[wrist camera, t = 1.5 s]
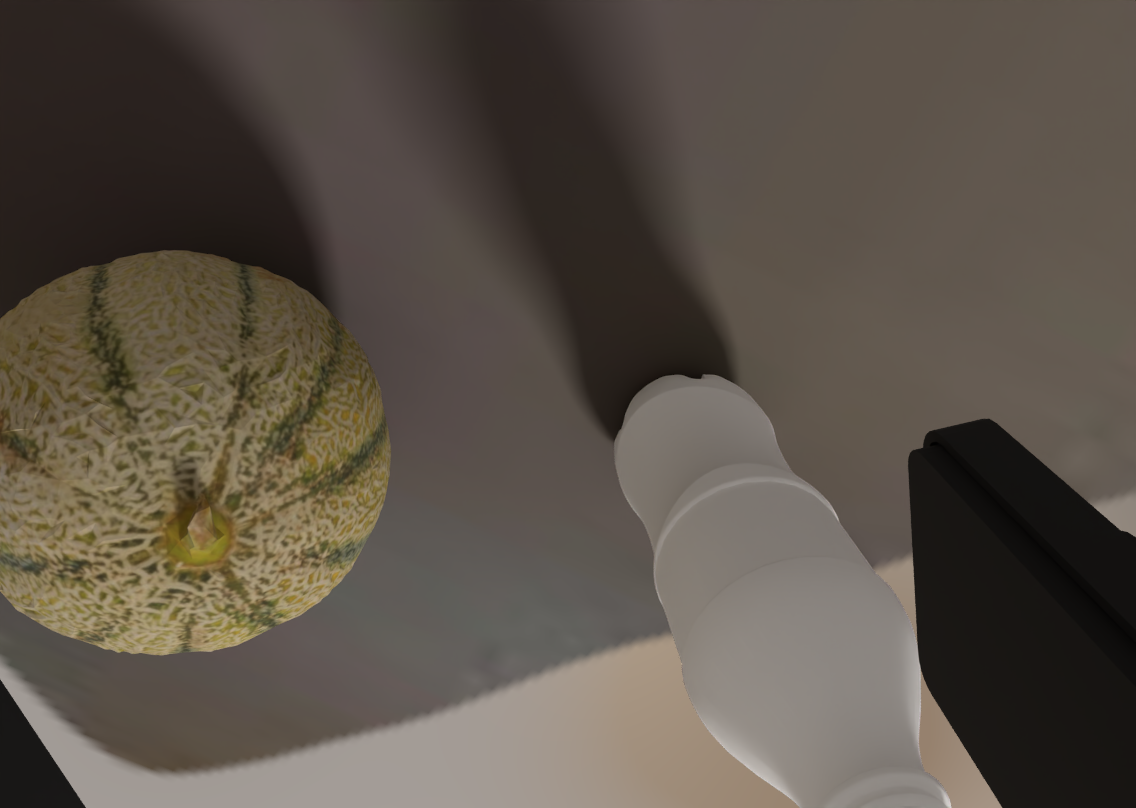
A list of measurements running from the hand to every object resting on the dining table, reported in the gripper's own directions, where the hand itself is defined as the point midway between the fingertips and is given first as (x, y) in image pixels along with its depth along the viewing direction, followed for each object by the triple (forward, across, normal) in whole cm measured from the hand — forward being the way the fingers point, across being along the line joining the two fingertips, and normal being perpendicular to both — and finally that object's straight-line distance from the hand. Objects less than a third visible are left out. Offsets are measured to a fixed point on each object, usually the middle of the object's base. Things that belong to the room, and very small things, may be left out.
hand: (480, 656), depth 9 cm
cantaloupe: (+30, +13, +7) cm, 34 cm away
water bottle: (+31, -6, +15) cm, 34 cm away
